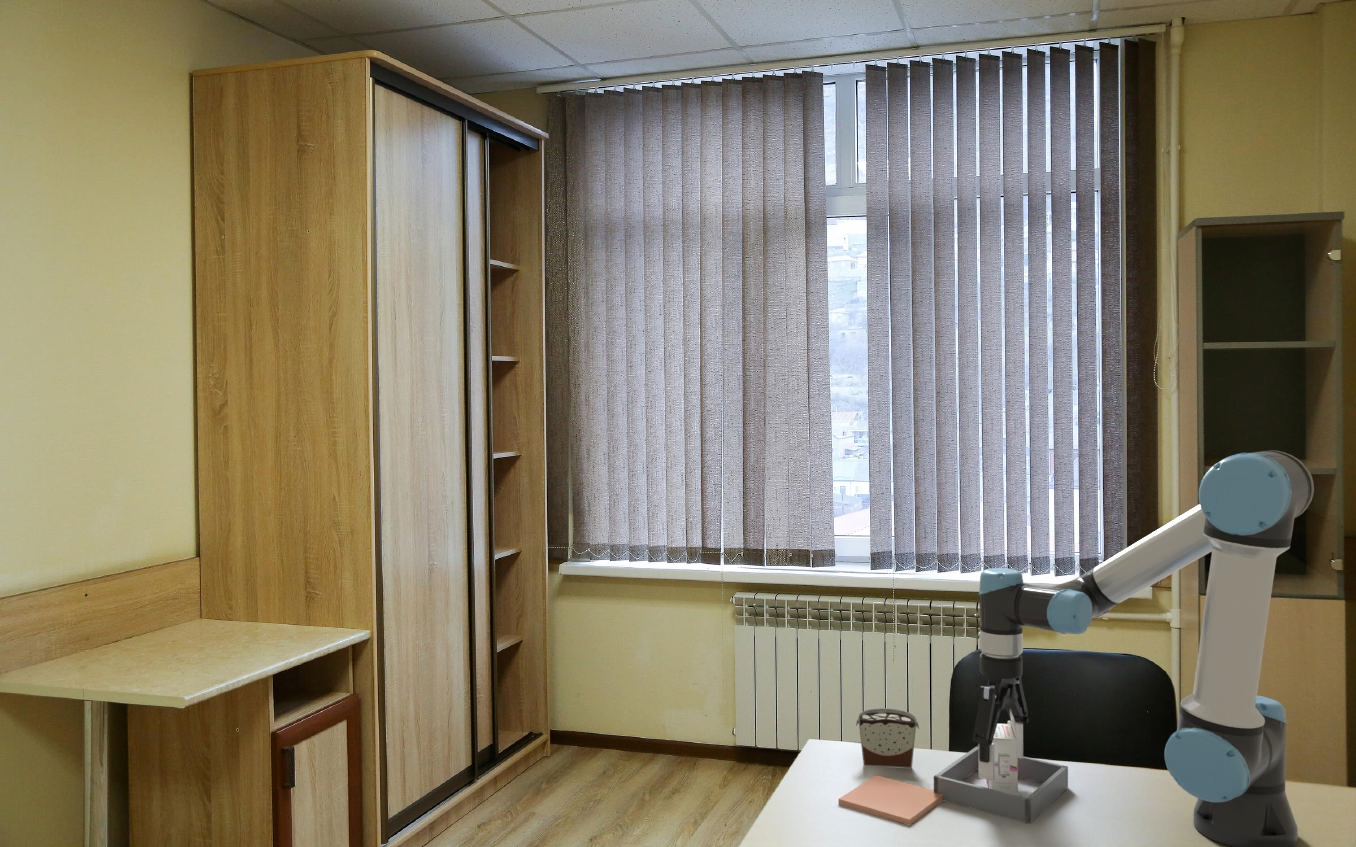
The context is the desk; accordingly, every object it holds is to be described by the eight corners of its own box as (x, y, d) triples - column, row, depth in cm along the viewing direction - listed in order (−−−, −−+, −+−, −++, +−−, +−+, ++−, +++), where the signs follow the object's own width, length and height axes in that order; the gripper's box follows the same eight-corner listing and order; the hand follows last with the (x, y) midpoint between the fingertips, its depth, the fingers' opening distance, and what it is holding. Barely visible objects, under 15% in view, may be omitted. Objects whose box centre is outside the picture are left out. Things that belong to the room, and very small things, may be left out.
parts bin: (1067, 787, 184) (1067, 766, 184) (1029, 823, 169) (1029, 800, 169) (977, 765, 195) (977, 745, 195) (933, 797, 180) (933, 775, 180)
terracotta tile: (944, 798, 180) (944, 793, 180) (909, 824, 169) (909, 819, 169) (876, 780, 189) (876, 774, 189) (838, 803, 178) (838, 798, 178)
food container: (917, 757, 200) (917, 708, 200) (919, 768, 194) (919, 718, 194) (856, 754, 202) (855, 706, 202) (856, 765, 196) (855, 715, 196)
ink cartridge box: (985, 782, 187) (984, 706, 186) (1012, 784, 186) (1012, 707, 185) (990, 801, 178) (989, 720, 178) (1018, 803, 177) (1018, 722, 177)
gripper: (1007, 636, 193) (1007, 743, 194) (952, 664, 174) (953, 782, 175) (1045, 642, 188) (1045, 751, 189) (994, 671, 169) (994, 793, 170)
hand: (1001, 767), depth 182 cm, fingers open, 13 cm apart
